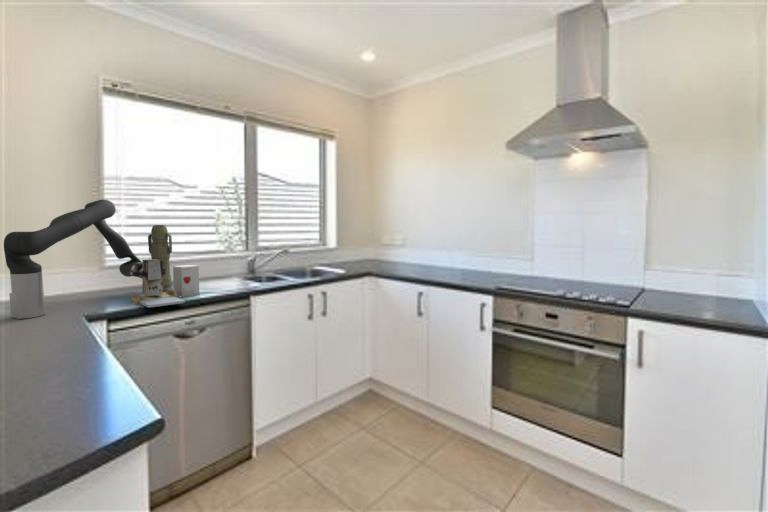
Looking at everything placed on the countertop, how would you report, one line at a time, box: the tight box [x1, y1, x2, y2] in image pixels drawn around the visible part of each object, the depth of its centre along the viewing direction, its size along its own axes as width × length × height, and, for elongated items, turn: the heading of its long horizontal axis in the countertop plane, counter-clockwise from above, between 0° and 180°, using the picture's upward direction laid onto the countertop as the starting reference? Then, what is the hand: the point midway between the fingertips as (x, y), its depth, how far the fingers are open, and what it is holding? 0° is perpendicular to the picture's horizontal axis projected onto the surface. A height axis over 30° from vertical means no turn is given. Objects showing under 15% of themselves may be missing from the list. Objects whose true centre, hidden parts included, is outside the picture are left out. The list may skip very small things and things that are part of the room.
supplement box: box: [172, 264, 200, 298], centre depth 197 cm, size 9×9×15 cm
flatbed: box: [130, 288, 178, 306], centre depth 182 cm, size 16×12×4 cm
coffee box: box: [141, 258, 164, 296], centre depth 181 cm, size 9×6×16 cm
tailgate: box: [140, 296, 186, 309], centre depth 172 cm, size 14×1×16 cm
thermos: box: [147, 224, 173, 292], centre depth 209 cm, size 9×12×35 cm
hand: (154, 273), depth 180 cm, fingers open, 6 cm apart
